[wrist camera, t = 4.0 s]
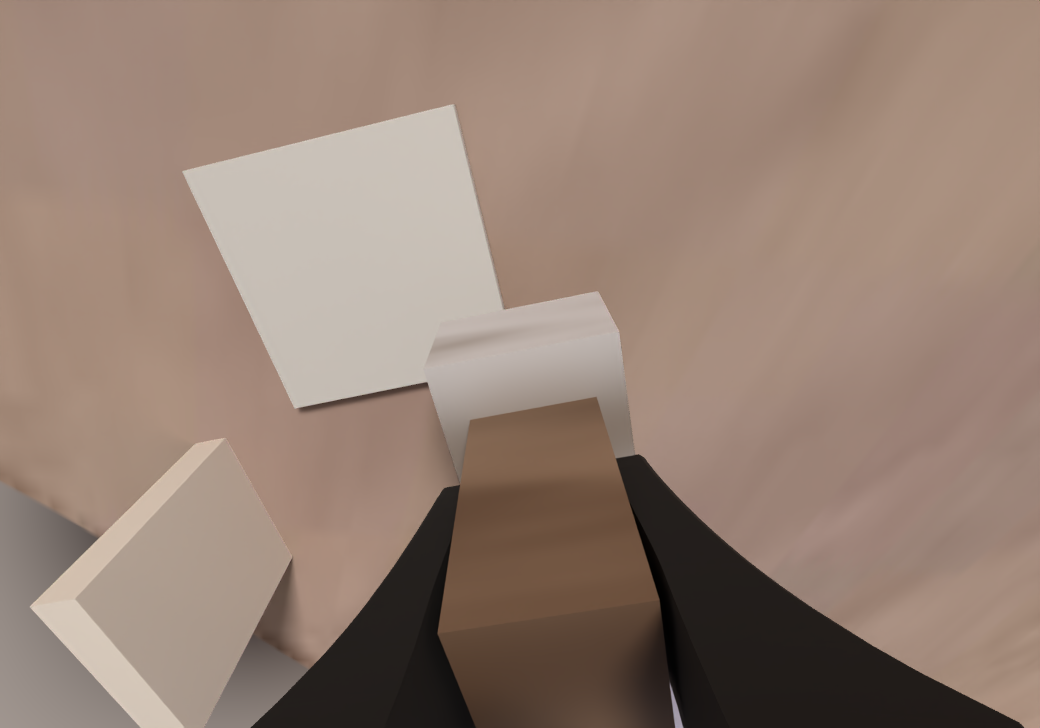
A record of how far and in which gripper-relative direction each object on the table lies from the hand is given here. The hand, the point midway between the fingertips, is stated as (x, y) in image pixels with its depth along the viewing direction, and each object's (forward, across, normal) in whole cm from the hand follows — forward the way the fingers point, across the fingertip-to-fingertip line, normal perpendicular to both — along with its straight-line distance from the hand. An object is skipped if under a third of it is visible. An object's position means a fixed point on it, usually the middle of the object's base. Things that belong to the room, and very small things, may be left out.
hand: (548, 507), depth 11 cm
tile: (+9, +14, +5) cm, 18 cm away
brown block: (+5, 0, 0) cm, 5 cm away
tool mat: (+9, +5, -4) cm, 11 cm away
